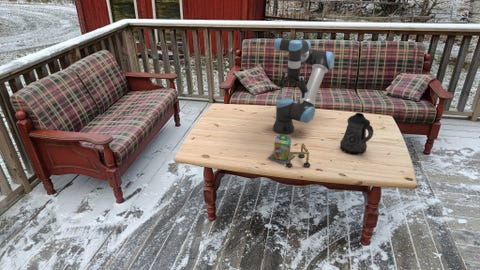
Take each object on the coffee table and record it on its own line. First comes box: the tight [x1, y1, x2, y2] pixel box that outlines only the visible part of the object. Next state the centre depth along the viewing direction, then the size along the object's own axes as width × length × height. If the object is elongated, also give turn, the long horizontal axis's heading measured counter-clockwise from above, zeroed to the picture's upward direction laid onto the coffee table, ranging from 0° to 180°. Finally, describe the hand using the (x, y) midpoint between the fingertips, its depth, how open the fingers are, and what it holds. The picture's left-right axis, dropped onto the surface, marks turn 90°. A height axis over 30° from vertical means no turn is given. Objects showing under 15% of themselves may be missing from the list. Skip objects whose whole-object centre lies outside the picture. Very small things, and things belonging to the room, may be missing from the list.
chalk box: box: [273, 134, 292, 161], centre depth 207 cm, size 9×9×15 cm
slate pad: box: [267, 152, 296, 166], centre depth 211 cm, size 12×12×1 cm
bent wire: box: [285, 143, 311, 169], centre depth 202 cm, size 12×18×10 cm, turn 139°
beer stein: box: [339, 112, 374, 156], centre depth 213 cm, size 16×19×25 cm
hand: (292, 100), depth 211 cm, fingers open, 13 cm apart
